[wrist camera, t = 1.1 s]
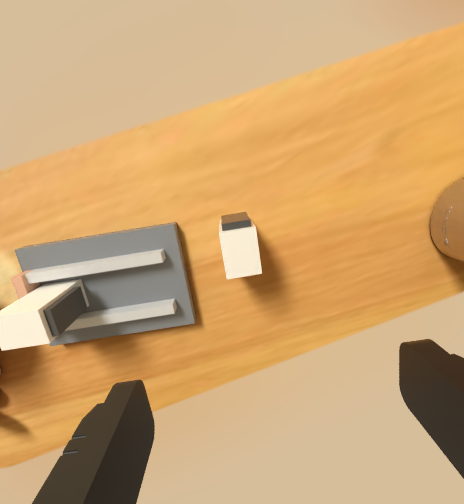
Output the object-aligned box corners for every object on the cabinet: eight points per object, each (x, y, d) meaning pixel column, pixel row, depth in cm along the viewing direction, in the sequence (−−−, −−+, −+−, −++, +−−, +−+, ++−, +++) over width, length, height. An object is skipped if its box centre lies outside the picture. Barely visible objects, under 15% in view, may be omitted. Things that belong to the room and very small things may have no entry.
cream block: (253, 252, 30) (262, 273, 24) (225, 256, 30) (226, 279, 24) (247, 209, 29) (254, 219, 22) (218, 214, 29) (217, 225, 22)
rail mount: (176, 222, 29) (157, 240, 21) (196, 316, 32) (186, 365, 24) (24, 246, 29) (-52, 273, 21) (58, 338, 32) (1, 393, 24)
